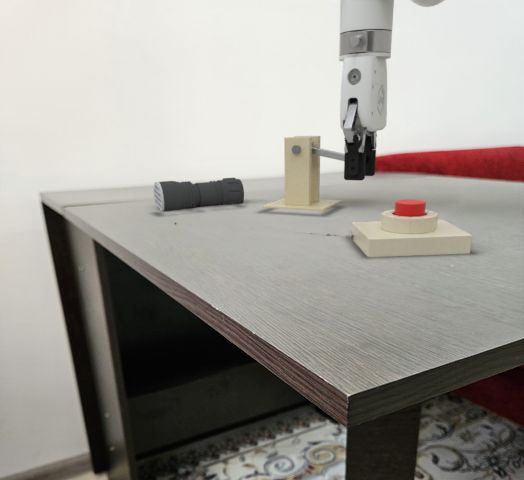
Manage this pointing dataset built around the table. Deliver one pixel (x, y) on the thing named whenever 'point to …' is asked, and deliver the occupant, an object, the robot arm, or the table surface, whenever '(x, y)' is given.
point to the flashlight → (197, 194)
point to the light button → (410, 208)
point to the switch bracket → (302, 176)
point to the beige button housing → (410, 236)
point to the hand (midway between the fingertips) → (359, 176)
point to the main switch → (330, 154)
